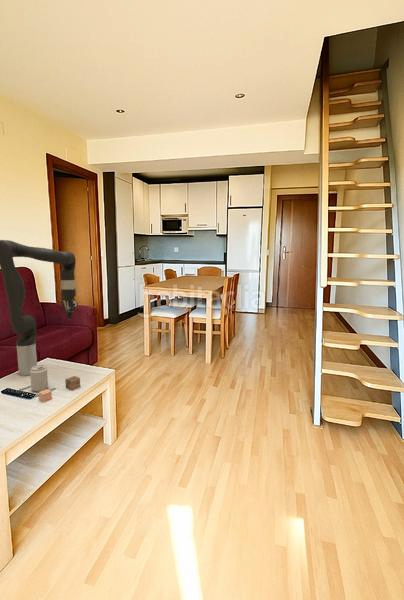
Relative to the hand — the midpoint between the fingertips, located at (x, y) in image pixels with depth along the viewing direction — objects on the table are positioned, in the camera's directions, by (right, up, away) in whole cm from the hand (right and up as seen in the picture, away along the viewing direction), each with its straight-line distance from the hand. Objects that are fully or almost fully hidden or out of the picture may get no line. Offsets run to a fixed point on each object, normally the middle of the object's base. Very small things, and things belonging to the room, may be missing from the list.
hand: (70, 318), depth 169 cm
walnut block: (+8, -35, -14) cm, 38 cm away
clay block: (0, -37, -27) cm, 46 cm away
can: (-8, -35, -17) cm, 40 cm away
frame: (-9, -35, -17) cm, 40 cm away
